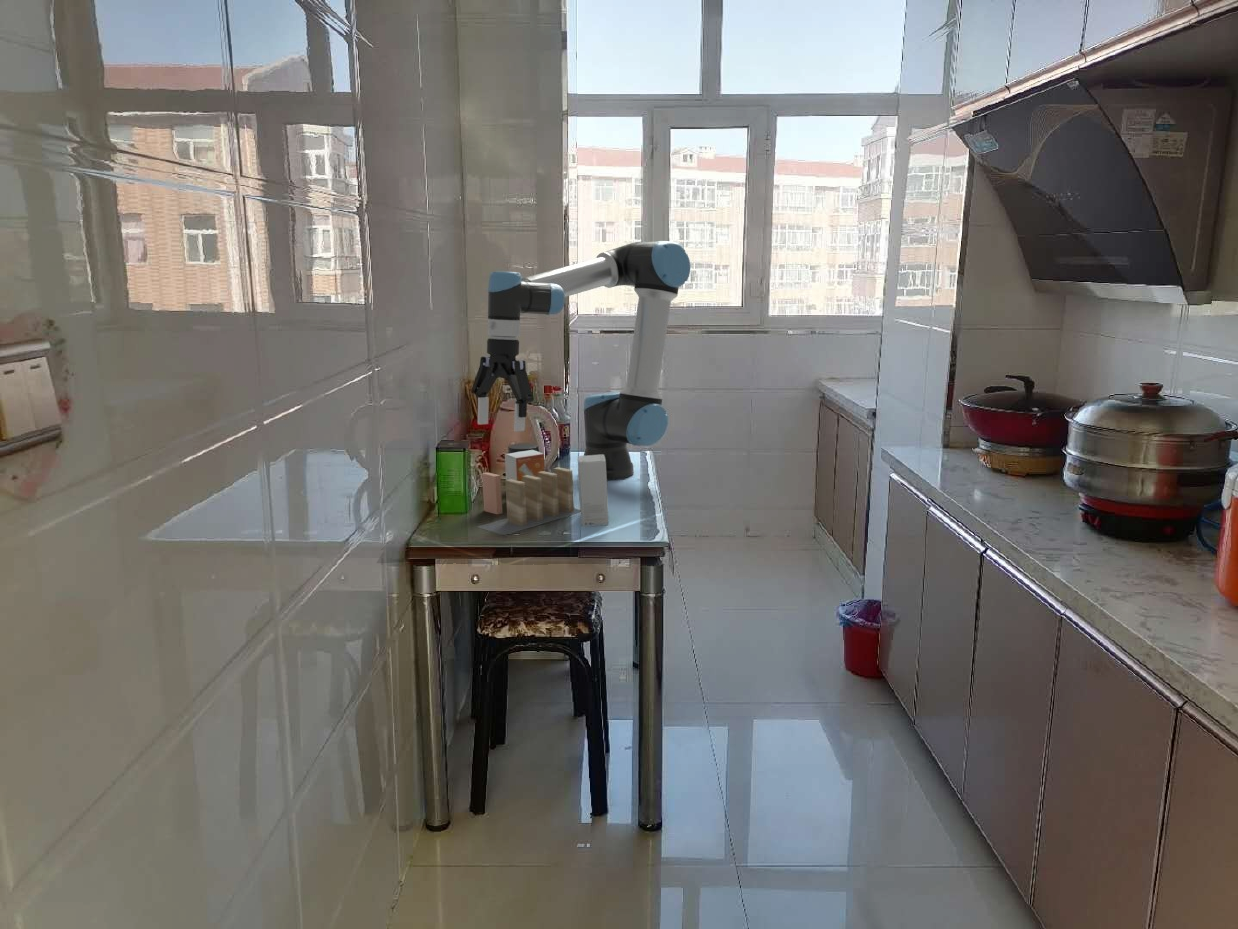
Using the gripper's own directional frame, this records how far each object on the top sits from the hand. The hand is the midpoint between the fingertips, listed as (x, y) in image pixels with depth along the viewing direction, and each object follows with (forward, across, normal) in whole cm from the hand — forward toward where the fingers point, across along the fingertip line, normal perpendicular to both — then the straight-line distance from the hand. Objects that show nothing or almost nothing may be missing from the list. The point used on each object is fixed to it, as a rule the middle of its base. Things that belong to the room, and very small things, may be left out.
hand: (500, 427), depth 223 cm
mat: (+21, +11, +1) cm, 24 cm away
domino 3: (+20, +11, +2) cm, 23 cm away
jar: (+20, -13, +20) cm, 31 cm away
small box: (+20, -2, +11) cm, 23 cm away
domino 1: (+21, -1, -1) cm, 21 cm away
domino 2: (+21, +11, -3) cm, 24 cm away
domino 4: (+20, +11, +7) cm, 24 cm away
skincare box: (+20, +24, +9) cm, 32 cm away
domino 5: (+19, +11, +12) cm, 25 cm away
